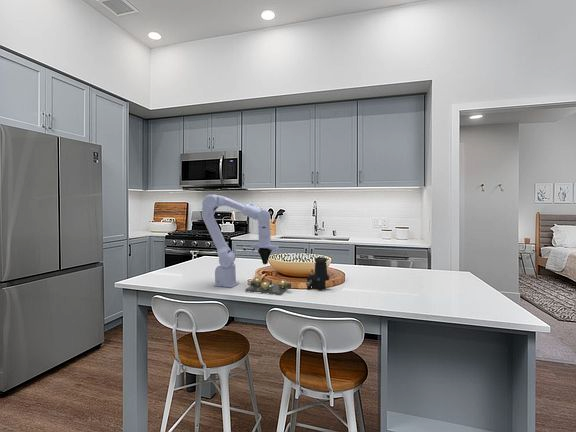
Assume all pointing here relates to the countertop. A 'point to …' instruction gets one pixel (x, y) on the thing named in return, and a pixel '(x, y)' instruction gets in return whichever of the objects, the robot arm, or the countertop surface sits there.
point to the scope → (318, 275)
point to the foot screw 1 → (256, 281)
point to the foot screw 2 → (284, 284)
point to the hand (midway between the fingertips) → (265, 263)
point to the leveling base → (272, 289)
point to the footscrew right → (266, 285)
